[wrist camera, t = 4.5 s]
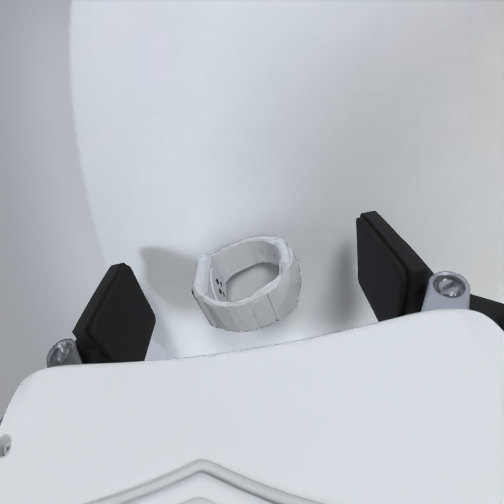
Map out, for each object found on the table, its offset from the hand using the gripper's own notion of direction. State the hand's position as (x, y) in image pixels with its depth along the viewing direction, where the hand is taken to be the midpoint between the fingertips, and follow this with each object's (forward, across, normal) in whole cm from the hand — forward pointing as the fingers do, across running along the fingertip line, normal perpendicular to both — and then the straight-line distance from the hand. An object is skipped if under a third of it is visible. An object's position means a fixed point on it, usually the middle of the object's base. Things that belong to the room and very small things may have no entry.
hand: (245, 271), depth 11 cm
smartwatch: (+2, 0, 0) cm, 2 cm away
